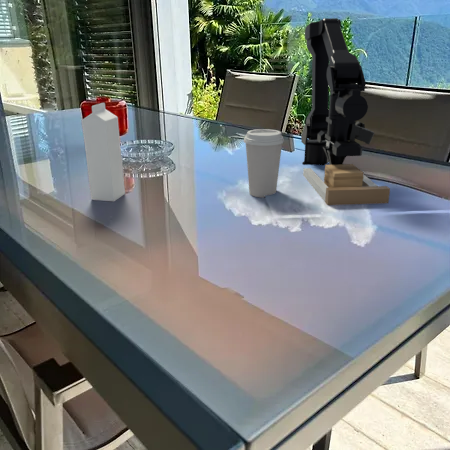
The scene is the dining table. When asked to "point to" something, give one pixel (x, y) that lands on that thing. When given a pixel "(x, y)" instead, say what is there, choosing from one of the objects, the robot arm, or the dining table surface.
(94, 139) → the milk
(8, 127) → the dining table surface
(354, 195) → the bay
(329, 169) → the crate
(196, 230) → the dining table surface
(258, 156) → the coffee cup
